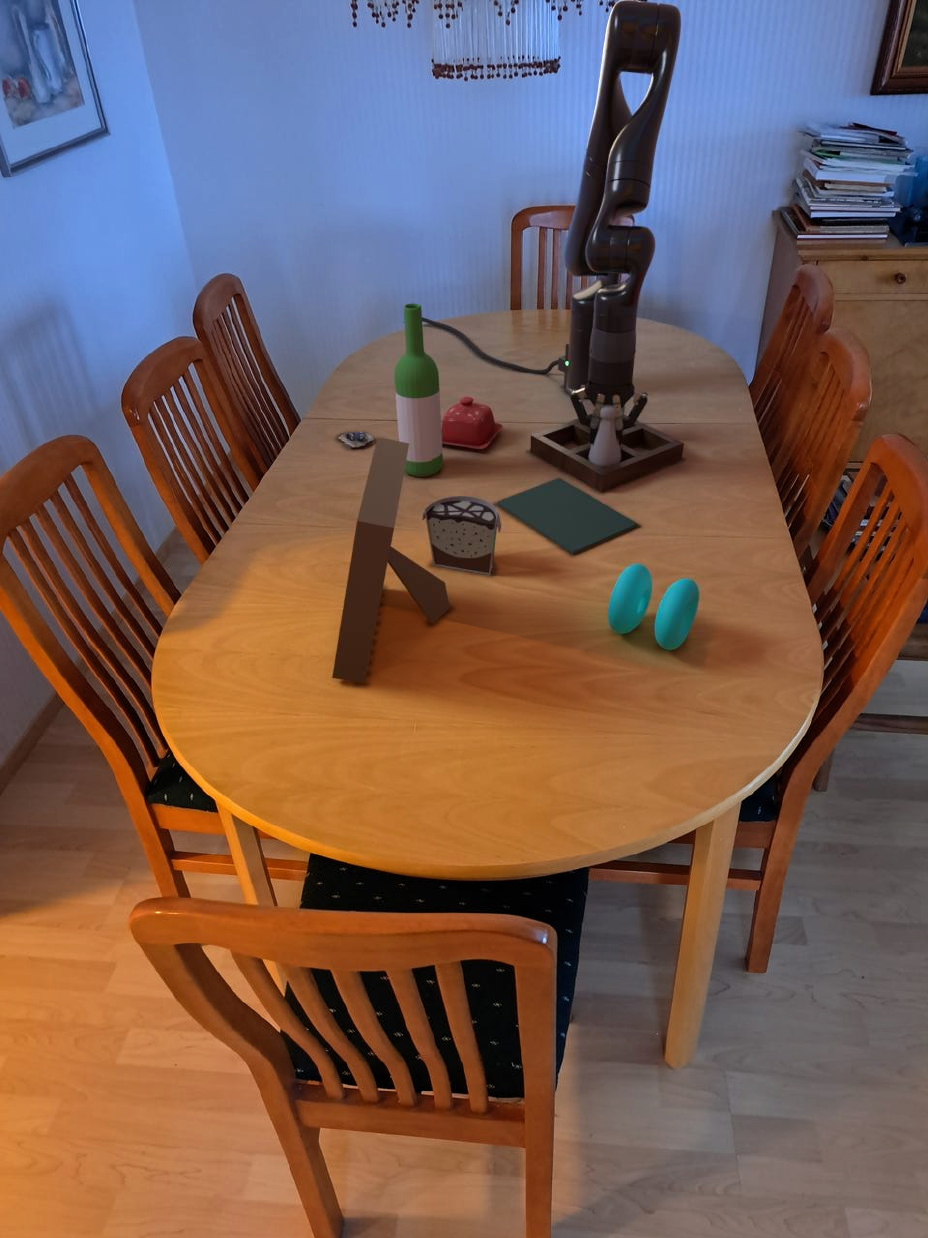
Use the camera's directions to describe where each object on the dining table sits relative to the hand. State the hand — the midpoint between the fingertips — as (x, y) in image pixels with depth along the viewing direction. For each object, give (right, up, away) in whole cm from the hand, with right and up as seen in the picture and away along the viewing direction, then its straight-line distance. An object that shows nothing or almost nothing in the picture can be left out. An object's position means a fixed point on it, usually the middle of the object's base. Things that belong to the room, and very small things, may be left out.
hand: (605, 445), depth 161 cm
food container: (-25, -22, -19) cm, 38 cm away
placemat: (-8, -14, -9) cm, 18 cm away
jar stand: (+1, 0, +8) cm, 8 cm away
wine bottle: (-33, -3, +6) cm, 34 cm away
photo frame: (-35, -33, -33) cm, 58 cm away
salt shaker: (0, -4, +3) cm, 5 cm away
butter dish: (-24, +4, +16) cm, 29 cm away
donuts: (+1, -33, -35) cm, 48 cm away
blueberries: (-47, +4, +16) cm, 49 cm away
